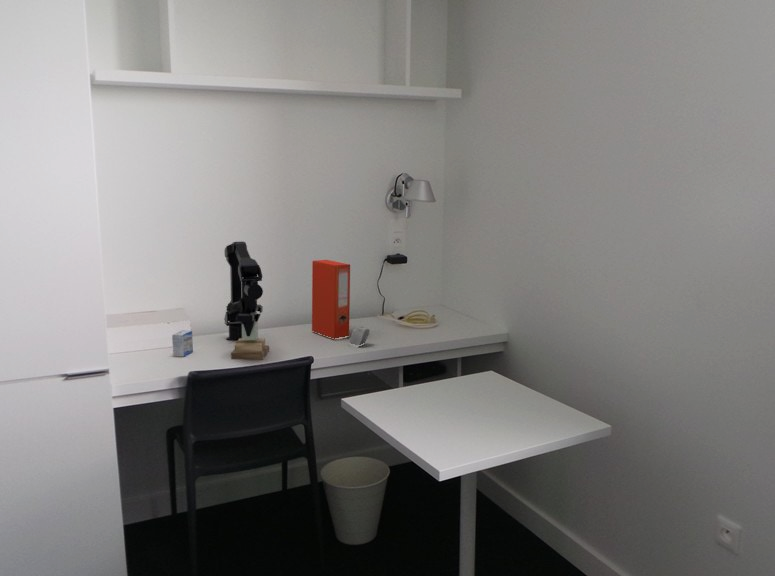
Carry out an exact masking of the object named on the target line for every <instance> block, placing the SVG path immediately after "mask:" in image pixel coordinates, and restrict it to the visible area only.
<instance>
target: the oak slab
mask: <svg viewBox="0 0 775 576" xmlns="http://www.w3.org/2000/svg"><path fill="white" fill-rule="evenodd" d="M265 346H266V338H256V339H255V340H242V338H239V340H236V342H235V343H234V349H235V353H261V352H262V351H263V349H264V347H265Z"/></svg>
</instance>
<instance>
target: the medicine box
mask: <svg viewBox="0 0 775 576" xmlns="http://www.w3.org/2000/svg"><path fill="white" fill-rule="evenodd" d="M171 337H172V341H171V342H172V356H173V357H179V358H184V357H186V356H189V355H190V354H191V353H193V352H194V345H193V343H194V342H193V330H188V329H187V330H186V329H185V330H184V329H183V330H180V331H178V332H175V333H174V334H172V335H171Z"/></svg>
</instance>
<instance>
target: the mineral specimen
mask: <svg viewBox="0 0 775 576" xmlns="http://www.w3.org/2000/svg"><path fill="white" fill-rule="evenodd" d="M370 331H371V329H370V328H367V327H363V326H355V328H354V329H353V330H352V332H351V334H350V336H349V342H348V344H349V343H351V344H355V345H361V344H363V343H365V344H366V342H367V339H368V337H369V335H370V334H369V333H370Z"/></svg>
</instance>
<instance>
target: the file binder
mask: <svg viewBox="0 0 775 576" xmlns="http://www.w3.org/2000/svg"><path fill="white" fill-rule="evenodd" d="M311 264H312V265H311V267H312V268H311V269H312V276H311V278H312V280H311V282H312V283H311V285H312V287H311V292H312V293H311V296H312V297H311V300H312V301H311V332H312V331H314V332H317V333H320V334H322V335H325V336H328V337H331V338H334V339H335V338H339V337H345V336H349V337H350V308H351V307H350V303H351V302H350V301H351V298H350V297H351V293H350V292H351V291H350V290H351V288H350V287H351V264H349V263H345V262H339V261H335V260H329V259H321V260H320V259H319V260H312V263H311ZM322 335H321V336H322ZM325 336H324V337H325Z"/></svg>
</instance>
